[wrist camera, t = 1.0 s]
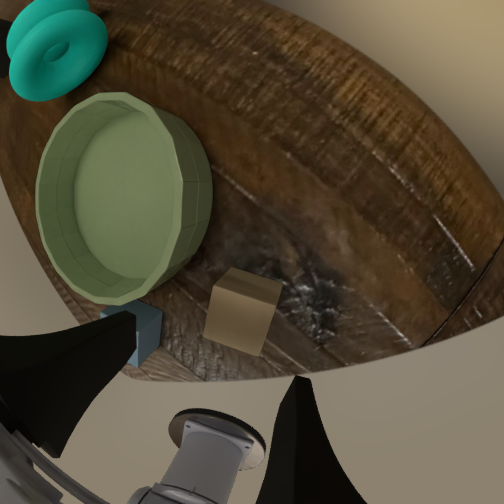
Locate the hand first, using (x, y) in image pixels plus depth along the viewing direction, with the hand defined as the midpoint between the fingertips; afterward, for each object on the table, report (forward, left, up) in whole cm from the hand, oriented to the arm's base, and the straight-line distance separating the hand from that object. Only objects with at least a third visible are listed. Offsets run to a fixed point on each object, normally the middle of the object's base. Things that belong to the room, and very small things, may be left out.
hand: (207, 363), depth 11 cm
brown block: (-1, 0, -10) cm, 10 cm away
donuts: (+18, +24, -10) cm, 32 cm away
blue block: (-7, +9, -10) cm, 15 cm away
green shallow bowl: (+4, +12, -10) cm, 16 cm away
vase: (+24, +50, -10) cm, 56 cm away
